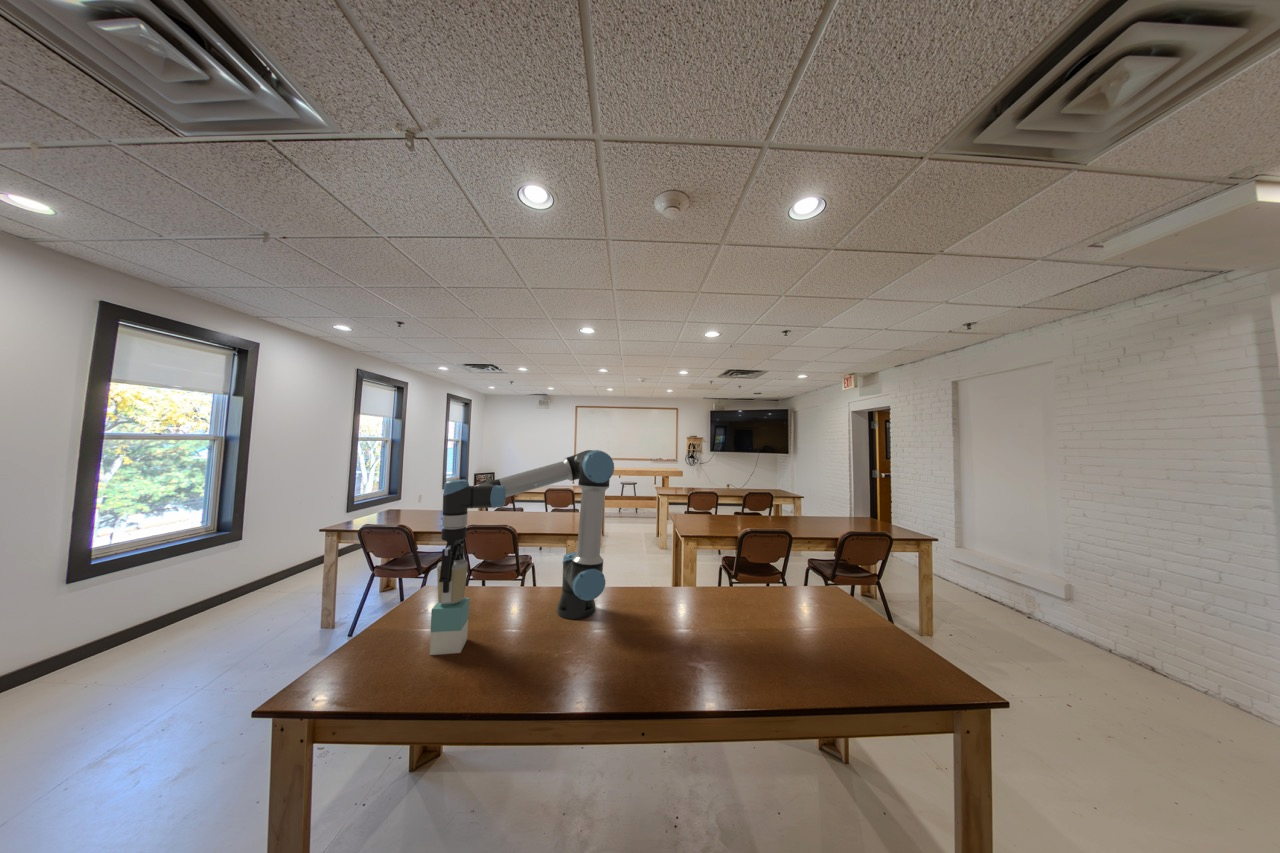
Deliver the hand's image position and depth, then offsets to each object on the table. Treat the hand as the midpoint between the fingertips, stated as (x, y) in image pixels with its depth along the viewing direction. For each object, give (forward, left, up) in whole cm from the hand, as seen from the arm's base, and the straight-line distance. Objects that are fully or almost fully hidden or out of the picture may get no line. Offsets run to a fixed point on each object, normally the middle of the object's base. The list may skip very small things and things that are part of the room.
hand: (451, 596), depth 130 cm
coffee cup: (0, 0, -1) cm, 1 cm away
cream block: (0, 0, -16) cm, 16 cm away
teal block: (0, 0, -9) cm, 9 cm away
